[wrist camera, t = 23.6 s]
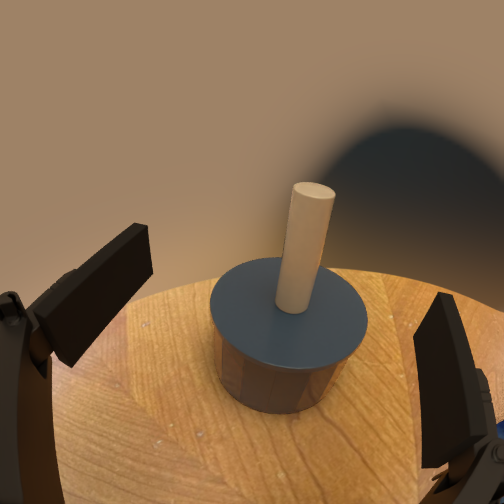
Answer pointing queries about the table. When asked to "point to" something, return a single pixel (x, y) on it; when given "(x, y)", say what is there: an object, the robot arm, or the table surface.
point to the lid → (292, 298)
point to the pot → (270, 382)
